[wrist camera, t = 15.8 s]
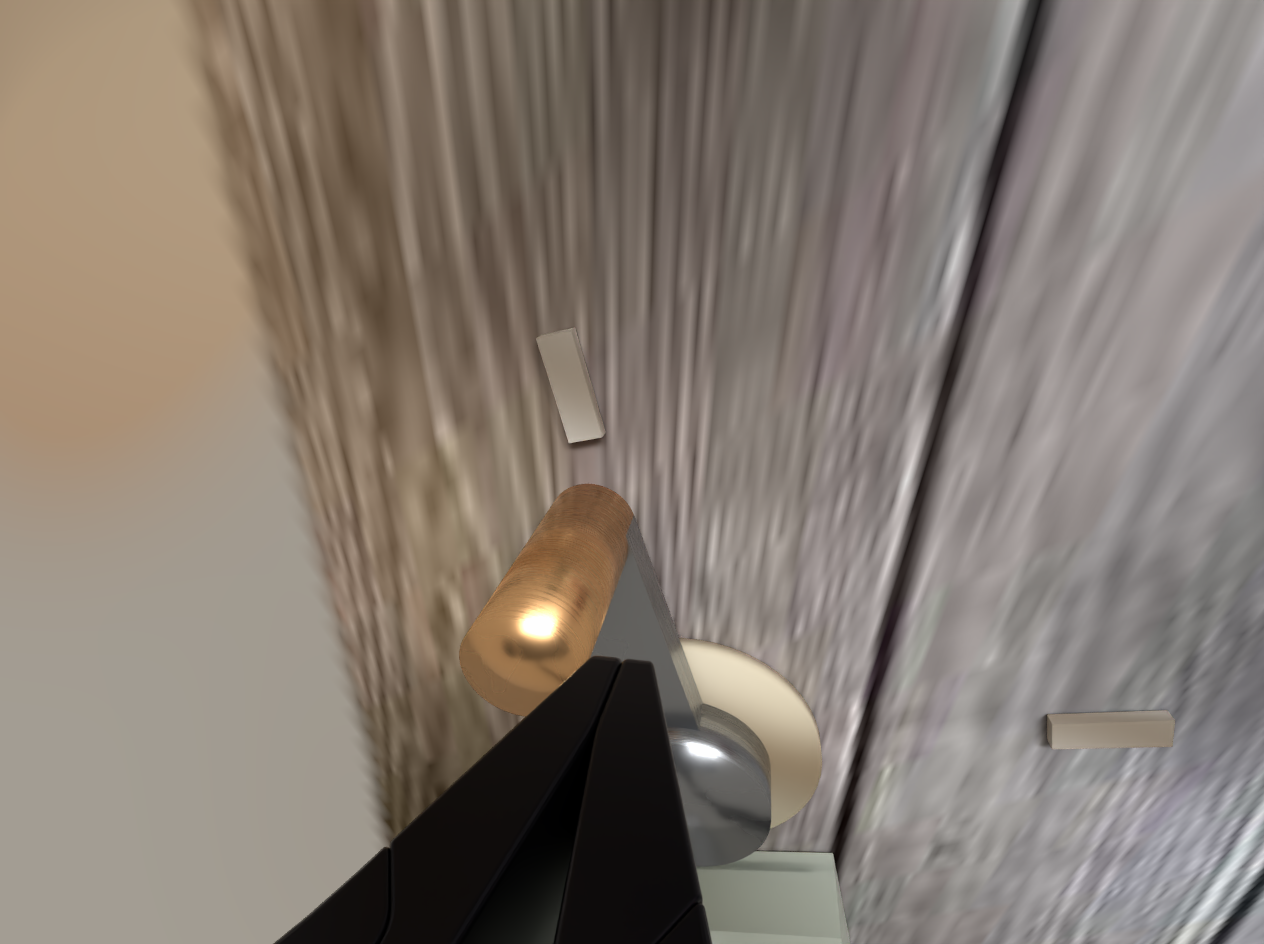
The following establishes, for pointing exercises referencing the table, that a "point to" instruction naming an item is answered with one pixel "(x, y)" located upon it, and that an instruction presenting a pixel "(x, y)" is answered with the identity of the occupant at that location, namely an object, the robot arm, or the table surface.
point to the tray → (774, 900)
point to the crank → (627, 629)
